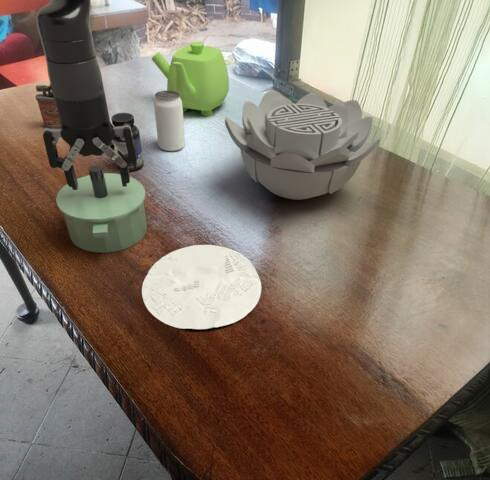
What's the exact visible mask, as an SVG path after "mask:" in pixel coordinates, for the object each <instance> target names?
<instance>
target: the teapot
mask: <svg viewBox="0 0 490 480" xmlns="http://www.w3.org/2000/svg"><path fill="white" fill-rule="evenodd" d="M151 61H152V62H153V63H154V64H155V66H156V67H157V68H158V69H159V71H160V72H161V74H163V76H164V77H165V78H166V79H167V82H166V90H171V91H176V92H178V93H179V94H180V98H181V100H182V108H183V112H186V111H187V110H188V109H190V110H195V111H196V110H197V111H200V113H201V115H202V116H204V117H210V116H213V114H214V113H213V110H214V109H216V108H218V107H219V106H222V105H223V103H224V101H225V99H226V98H227V96H228V93H229V90H230V79H229V72H228V67H227V64H226V60H225V58H224V55H223V52H222V50H221V48H216V47H213V46H211V45H205V43H203V42H201V41H191V42H190V43H189V44H188V45H186V46H183V47H180V48H179V49H177V50H176V51H175V52H174V53H173V55H172V57H171V60H170V63H169V62H168V61H167V59H166V58H165V57H164V55H162V53H161V52H160V51H158V52H157V53H155V54H154V55H153V56H152V58H151Z"/></svg>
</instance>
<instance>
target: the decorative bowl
mask: <svg viewBox="0 0 490 480" xmlns="http://www.w3.org/2000/svg"><path fill="white" fill-rule="evenodd" d="M241 115H242V119H241V122H242V126H243V127H242V126H240V125H238V123H236V122H234V121H233V120H232V119H230V118H229V117H228V116H226V117H224V119H225V120H224V126H225V127H226V130H227V132H228V134H229V137H230V138H231V140H232V141H233V143H234V144H235V145H236V147H238V149H239V150H240V155H241V159H242V161H243V165H244V167H245V170H246V171H247V173H248V174H249V176H250V177H251V179H252V180H254V182H255V183H256V184H257V183H260V185H262V186H263V187H264V188H266V189H267V190H268V191H269V192H270V193H272V194H273V195H276V196H277V197H281V198H284V199H289V200H297V201H298V200H299V201H300V200H307V199H311V198H315V197H320V196H323V195H325V194H328V193H329V194H330V195H332V194H333V193H335V192H337V191H338V190H340V189H341V188H342V187H344V186H345V185H346V184H347V183H348V182H349V181H350V180H351V178H352V177H353V176H354V174H355V173H356V172H357V170H358V168H359V166H360V164H361V162H362V161H363V160H364V159H366V158H367V157H368V156H369V155H370V154H371V153H372V152H374V151H375V150H376V148H377V147H379V146H380V142H381V139H382V137H379V138H377V139H376V140H373V141H370V142H369V143H368V142H367V143H366V141H367V140H368V138H369V136H370V133H371V131H372V130H371V129H372V126H373V121H374V117H373V116H366V117H363V118H362V115H363V114H362V107H361V105H360V103H359V101H358V100H357V99H350V100H347V101H344V102H342V103H335V104H332V105H330V106H327V103H326V102H325V100H324V98H322V97H321V95H319V94H318V93H316V92H310V93H307V94H305V95H304V96H302V97H301V98H300V99H299V100H298V101H296V103H294V102H293V101H291V100H290V98H288V97H285V95H283V94H282V93H280V91H277V90H274V89H270V90H268V91H267V92H266V93H265V94H264V95H263V97H262V98H261V100H260V102H259V104H258V105H256V104H255V103H253V102H252V101H247V100H246V101H244V103H243V106H242V114H241ZM365 143H366V144H365Z"/></svg>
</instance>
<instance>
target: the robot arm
mask: <svg viewBox="0 0 490 480" xmlns="http://www.w3.org/2000/svg"><path fill="white" fill-rule="evenodd" d="M91 2H92V1H91V0H50V1H49V2H48V3H47V4H45V5H43V6H42V7H40V9H39V10H38V11H37V12H36V16H35V21H36V28H37V31H38V35H39V39H40V43H41V46H42V49H43V53H44V54H43V55H44V57H45V63H46V69H47V75H48V79H49V85H50V87H51V90H52V92H53V95H54V99H55V103H56V106H57V110H58V114H59V118H60V121H61V125H62V128H61V129H52V128H51V127H49V126H46V127H45V128H44V129H43V133H42V139H43V142H44V147H45V151H46V155H47V160H48V164H49V167H50V168H52V169H56V168H58V169H61V170H62V172H63V174H64V177H65V180H66V183H67V184H68V186H69V187H72V189H73V190H77V189H78V182H77V179H78V178H77V175H76V171H75V167H74V162H75V161H76V159H77V157H78V156H79V155H81V156H82V157H90V156H97V157H99V156H101V157H102V156H103V155H104V154H105V155H106V156H107V157H108V158H109V159H110V160H112V161H114V163H116V165H117V164H118V165H119V168H118V169H119V174H120V175H121V181H122V186H123V187H127V183H129V182H130V177H131V176H130V175H131V174H130V171H129V169H128V165H129V164H131V163H133V164H135V163H136V162H137V153H136V148H135V144H134V139H133V134H132V130H131V125H130V124H129V123H124V125H123V126H117V127H114V125H113V124H112V121H111V120H110V114H109V113H110V112H109V108H108V102H107V98H106V97H107V96H106V92H105V87H104V81H103V76H102V72H101V68H100V64H99V62H98V58H97V55H96V49H95V43H94V38H93V34H92V29H91V22H90V21H91V20H90V19H91V17H90V16H91ZM115 135H118V136H119V137H120V139H121V140H122V141H125V143H126V147H127V151H128V154H125V155H124V154H123V153H122V152H121V151H120V150H119V149H118V147H117V145H116V144H115V143H114V142H113V141H112V140H113V138H114V136H115ZM60 138H61V139H62V140H63V141H64V142H65V143H66V144H67V145H68V149H67V151H66V153H65V155H64V157H60V156H59V152H58V147H57V144H58V143H59V140H60Z"/></svg>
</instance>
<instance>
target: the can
mask: <svg viewBox="0 0 490 480" xmlns="http://www.w3.org/2000/svg"><path fill="white" fill-rule="evenodd" d="M153 108H154V118H155V127H156V134H157V136H156V137H157V143H158V147H159V148H160V149H161V150H162V151H165V152H178V151H181V150H182V149H184V147H185V145H186V141H185V140H186V139H185V125H184V124H185V123H184V111H183V108H182V100H181V98H180V94H179V93H178V92H176V91H171V90H167V89H166V90H160V91H158V92H156V93H155V94H154V100H153Z"/></svg>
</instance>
